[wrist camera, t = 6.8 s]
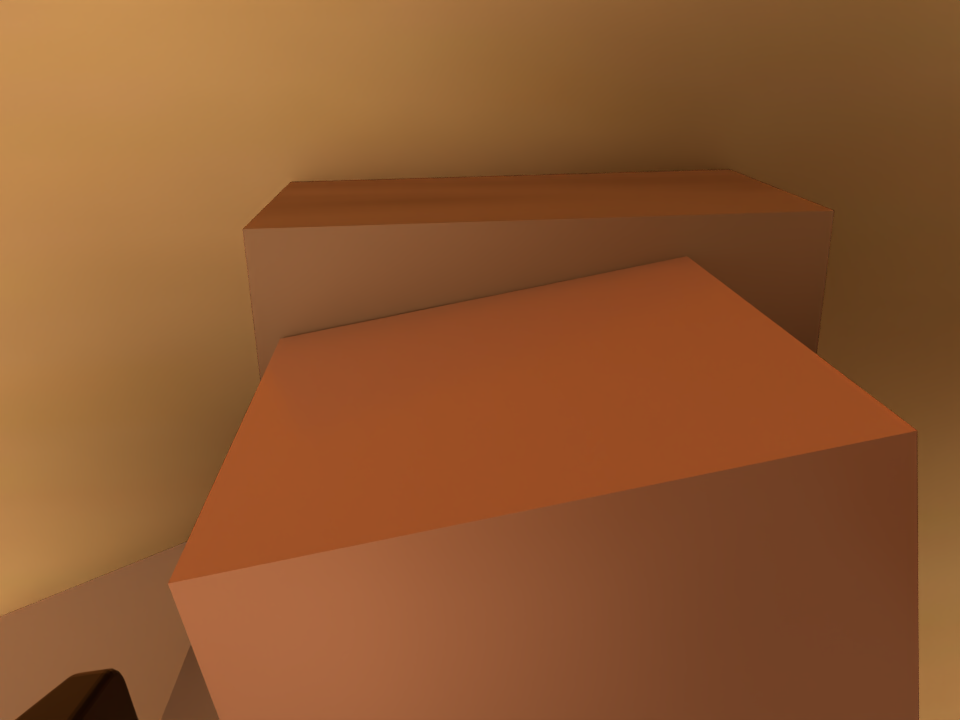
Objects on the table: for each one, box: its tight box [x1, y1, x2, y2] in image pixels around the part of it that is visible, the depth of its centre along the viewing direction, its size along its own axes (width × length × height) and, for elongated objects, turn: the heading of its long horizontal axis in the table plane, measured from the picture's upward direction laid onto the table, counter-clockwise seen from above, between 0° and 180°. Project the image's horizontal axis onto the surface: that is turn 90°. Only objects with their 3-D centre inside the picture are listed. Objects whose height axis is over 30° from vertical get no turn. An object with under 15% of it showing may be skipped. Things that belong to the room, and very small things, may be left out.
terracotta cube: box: [168, 256, 919, 720], centre depth 9 cm, size 5×5×5 cm
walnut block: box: [243, 169, 834, 381], centre depth 13 cm, size 7×7×4 cm
